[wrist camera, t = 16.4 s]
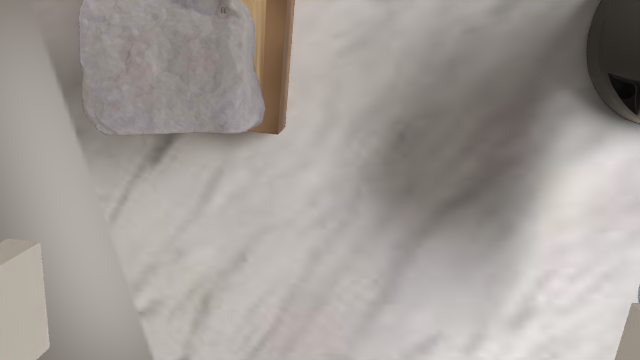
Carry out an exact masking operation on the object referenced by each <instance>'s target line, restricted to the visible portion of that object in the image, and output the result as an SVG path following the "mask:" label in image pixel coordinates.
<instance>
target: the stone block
mask: <svg viewBox="0 0 640 360" xmlns="http://www.w3.org/2000/svg"><path fill="white" fill-rule="evenodd" d="M79 28H80V63H81V67H82V72H83V80H82V100H83V107H84V110H85V113H86V117H87V118H88V119H89V120H90V121H91V123H92V124H94V125H95V126H96V129H98V130H99V131H101V132H102V133H103V134H105V135H106V134H114V135H148V134H170V133H219V134H234V133H241V132H246V131H247V130H251V129H253V128H255V127H257V126H258V125H259V124H261V123H262V121H263V117H264V112H265V104H264V100H263V97H262V94H261V88H260V84H259V80H258V77H257V75H256V72H255V66H254V57H255V48H256V41H255V23H254V20H253V19H252V17H251V15H250V12H249V9H248V8H247V6H246V5H245V4H244V3H243V2H242V1H240V0H84V1H83V5H82V6H81V9H80V13H79Z"/></svg>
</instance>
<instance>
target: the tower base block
mask: <svg viewBox="0 0 640 360" xmlns="http://www.w3.org/2000/svg"><path fill="white" fill-rule="evenodd" d="M294 3H295V0H266V19H265V43H264V66H263V89H262V97H263V100H264V104H265V112H264V117H263V121H262V123H261V124H259V125H258V126H257V127H255V128H253V129H251V130H247V131H251V132H260V133H270V134H279V133H280V132H281V131H282V129H283V128H284V127H285V123H286V109H287V96H288V83H289V70H290V56H291V43H292V30H293V16H294Z"/></svg>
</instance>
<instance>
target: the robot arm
mask: <svg viewBox="0 0 640 360" xmlns="http://www.w3.org/2000/svg"><path fill="white" fill-rule="evenodd" d="M587 63H588V69H589V73H590V77H591V80H592V82H593V85H594V87H595V89H596V91H597V92H598V94H599V95H600V97H601V98H602V100H603V101H604V102H605V103H606V104H607V105H608V106H609V107H610V108H611V109H612V110H613V111H615V112H616V113H617V114H619V115H621V116H622V117H624V118H626V119H628V120H630V121H633V122H636V123H639V124H640V0H602V1H601V3H600V5H599V7H598V9H597V11H596V13H595V15H594V18H593V21H592V23H591V27H590V31H589V35H588V42H587ZM638 303H639V304H638ZM638 303H632V304H631V308H630V311H629V314H628V318H627V321H626V324H625V327H624V331H623V334H622V337H621V341H620V344H619V347H618V351H617V354H616V357H615V360H640V286H639V290H638ZM49 347H50V344H49V333H48V322H47V312H46V301H45V290H44V279H43V268H42V258H41V247H40V242H33V241H24V240H14V239H6V240H4V241H2V242H0V360H37V359H38V358H39V357H40V356H41V355H42V354H43V353H44V352H45V351H46V350H47V349H48V348H49Z"/></svg>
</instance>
